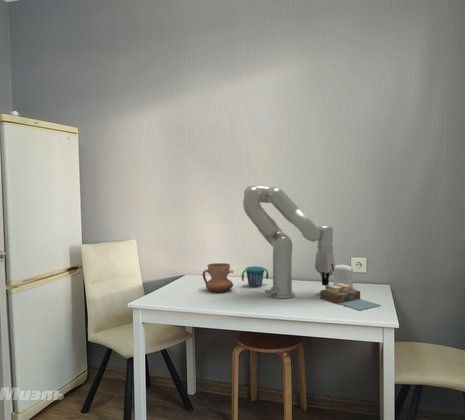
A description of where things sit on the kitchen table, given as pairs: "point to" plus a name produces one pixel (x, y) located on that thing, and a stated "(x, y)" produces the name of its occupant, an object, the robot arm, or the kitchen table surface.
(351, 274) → the white upright block
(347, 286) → the birch tile
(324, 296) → the block
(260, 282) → the snack cup
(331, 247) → the robot arm
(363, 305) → the slate mat
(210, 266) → the ceramic jug
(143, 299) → the kitchen table surface
